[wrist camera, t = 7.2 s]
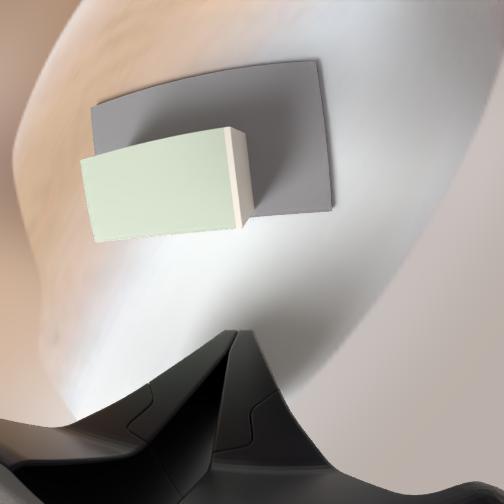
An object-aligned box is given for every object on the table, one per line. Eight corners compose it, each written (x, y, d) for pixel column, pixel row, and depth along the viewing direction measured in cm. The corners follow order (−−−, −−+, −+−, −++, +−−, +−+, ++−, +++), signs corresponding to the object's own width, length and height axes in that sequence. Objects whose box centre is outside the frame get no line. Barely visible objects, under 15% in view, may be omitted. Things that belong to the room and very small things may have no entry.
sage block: (242, 228, 15) (95, 242, 16) (254, 209, 20) (133, 222, 21) (229, 126, 13) (80, 160, 15) (245, 133, 18) (122, 156, 19)
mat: (330, 209, 19) (331, 211, 19) (111, 230, 22) (108, 232, 21) (314, 62, 16) (315, 60, 16) (94, 108, 19) (90, 107, 18)
